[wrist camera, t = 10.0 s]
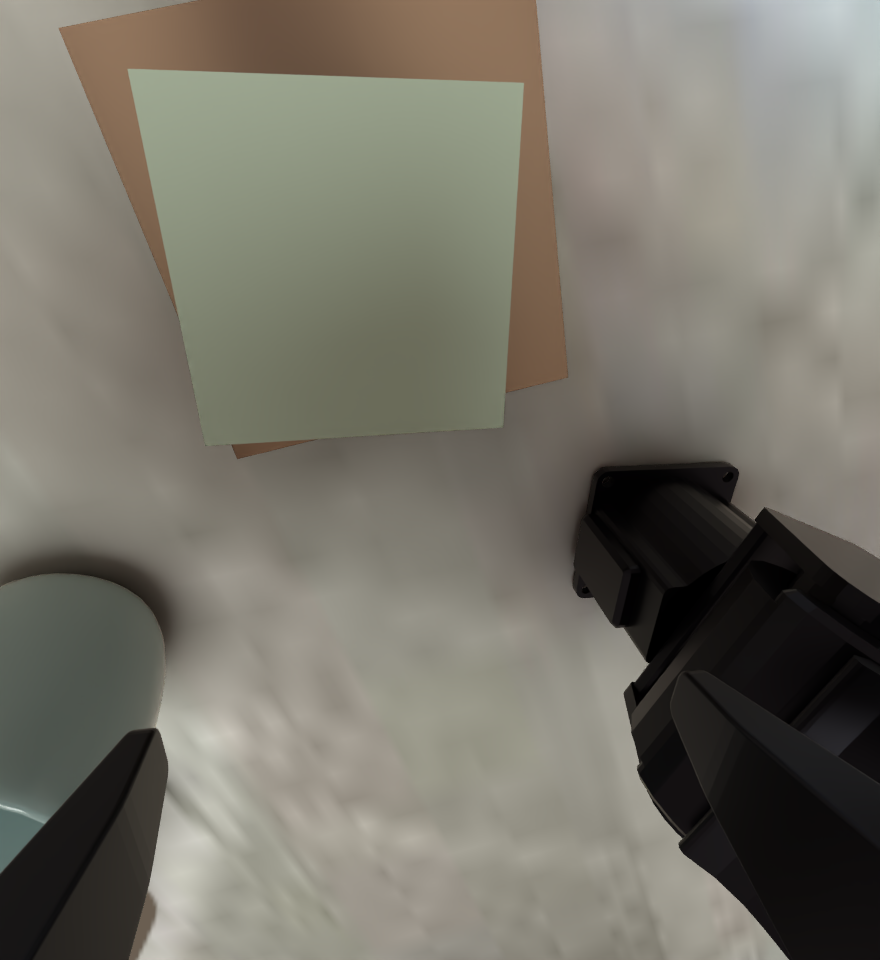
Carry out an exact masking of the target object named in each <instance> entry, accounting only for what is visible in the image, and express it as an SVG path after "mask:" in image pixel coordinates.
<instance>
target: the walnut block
mask: <svg viewBox="0 0 880 960" xmlns="http://www.w3.org/2000/svg"><path fill="white" fill-rule="evenodd" d="M59 30H60V33H61V35H62V38H63V40H64V42H65V45H66V47H67V50H68V52H69V54H70V57H71V59H72V62H73V64H74V66H75V69H76V71H77V74H78V76H79V79H80V81H81V83H82V86H83V88H84V91H85V93H86V95H87V98H88V100H89V103H90V105H91V107H92V110H93V112H94V115H95V117H96V120H97V122H98V124H99V127H100V129H101V132H102V134H103V136H104V139H105V141H106V144H107V146H108V148H109V151H110V153H111V156H112V158H113V160H114V163H115V165H116V168H117V170H118V173H119V175H120V177H121V180H122V182H123V185H124V187H125V189H126V192H127V194H128V197H129V199H130V201H131V204H132V206H133V209H134V211H135V214H136V216H137V218H138V221H139V223H140V226H141V228H142V230H143V233H144V235H145V238H146V240H147V242H148V245H149V247H150V250H151V252H152V255H153V257H154V259H155V262H156V264H157V267H158V269H159V271H160V274H161V276H162V279H163V281H164V283H165V286H166V288H167V291H168V293H169V296H170V298H171V300H172V303H173V305H174V308H175V310H176V312H177V307H176V302H175V297H174V293H173V288H172V283H171V278H170V273H169V268H168V263H167V259H166V254H165V249H164V244H163V239H162V234H161V229H160V225H159V220H158V215H157V210H156V205H155V200H154V195H153V191H152V186H151V181H150V176H149V171H148V166H147V161H146V157H145V152H144V147H143V142H142V137H141V132H140V127H139V123H138V118H137V113H136V108H135V103H134V98H133V93H132V89H131V84H130V79H129V74H128V69H150V70H178V71H206V72H234V73H263V74H291V75H319V76H347V77H375V78H403V79H431V80H459V81H488V82H516V83H524V91H523V108H522V124H521V141H520V157H519V174H518V191H517V207H516V224H515V240H514V257H513V273H512V290H511V306H510V323H509V340H508V356H507V373H506V389H505V393H507V392H511V391H515V390H519V389H523V388H527V387H531V386H535V385H539V384H543V383H547V382H551V381H555V380H559V379H563V378H568V370H567V359H566V347H565V335H564V323H563V312H562V300H561V288H560V276H559V265H558V253H557V241H556V229H555V218H554V206H553V194H552V182H551V171H550V159H549V147H548V135H547V124H546V112H545V100H544V88H543V77H542V65H541V53H540V41H539V30H538V18H537V6H536V0H198V1H193V2H188V3H182V4H177V5H172V6H167V7H162V8H157V9H152V10H147V11H142V12H137V13H132V14H127V15H122V16H117V17H112V18H107V19H102V20H97V21H92V22H87V23H82V24H77V25H72V26H67V27H62V28H59ZM177 315H178V312H177ZM312 440H317V439H312ZM312 440H296V441H280V442H264V443H248V444H231V445H232V447H233V450H234V452H235V455H236V457H237V459H240V458H244V457H248V456H252V455H256V454H260V453H264V452H268V451H272V450H276V449H280V448H284V447H288V446H292V445H296V444H300V443H304V442H308V441H312Z"/></svg>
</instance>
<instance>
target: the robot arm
mask: <svg viewBox="0 0 880 960" xmlns="http://www.w3.org/2000/svg"><path fill="white" fill-rule="evenodd" d="M727 472H728V473H727ZM725 473H727V475H726V476H725V477H724V478H723V476H724V474H725ZM738 476H739V472H738V469H737V468H735V467H734V466H732V465H731V464H730V463H701V464H674V465H647V466H620V467H604V468H601V469H599V470H598V471H597V472H596V473H595V474H594V476H593V480H592V485H591V491H590V496H589V501H588V507H587V512H586V515H585V516H584V517H583V518H582V520H581V526H580V531H579V537H578V542H577V548H576V553H575V559H574V567H575V569H576V571H575V577H574V582H573V589H574V590H575V592H576V593H577V595H578V596H579V597H581V598H592V597H594V598H595V600H596V601H597V603H598V604H599V606H600V608H601V609H602V611H603V612H604V614H605V615H606V617H607V618H608V620H609V622H610V623H611V624H612V625H613V626H614V627H615V628H622V627H624V629H625V630H626V632H627V633H628V635H629V636H630V638H631V639H632V641H633V642H634V644H635V645H636V647H637V648H638V650H639V651H640V653H641V654H642V656H643V657H644V659H645V660H646V662H648V663H649V665H648V666H647V667H646V669H645V670H644V671H643V672H642V674H641V675H640V676H639V678H638V679H637V680H636V682H631V684H630V685H629V686H628V687H627V689H626V690H625V691H624V698H625V702H626V707H627V711H628V716H629V720H630V724H631V733H632V736H633V739H634V742H635V746H636V750H637V755H638V759H639V763H640V764H639V765H638V766H637V771H638V774H639V777H640V780H641V781H642V783H643V785H644V786H645V788H646V789H647V792H648V794H649V795H650V797H651V799H652V801H653V804H654V805H655V806H656V808H657V809H658V811H659V812H660V813H661V815H662V816H663V818H664V819H665V820H666V821H667V822H668V824H669V825H670V826H671V827H672V828H673V829H674V830H675V832H676V833H677V834H678V835H680V836H681V837H682V838H683V839H682V840H681V841H680V842H679V848H680V850H681V851H682V853H683V854H684V855H685V856H687V857H688V858H689V859H691V860H692V861H693V862H695V863H696V864H697V865H699V866H700V867H701V868H703V869H704V870H705V871H707V872H708V873H709V874H711V875H712V876H714V877H715V878H716V879H717V880H718V881H719V882H720V883H721V884H722V885H723V886H724V887H725V888H726V889H727V890H728V891H730V892H731V893H732V894H733V895H734V896H735V897H736V898H737V899H738V900H739V901H740V902H741V903H742V904H743V905H744V906H745V907H746V908H747V909H748V911H749V912H750V913H751V914H752V915H753V916H754V918H755V919H756V920H757V921H758V922H759V923H760V924H761V926H762V927H763V928H764V929H765V930H766V932H767V933H768V934H769V935H770V937H771V938H772V939H773V940H774V942H775V943H776V944H777V945H778V946H779V948H780V949H781V950H782V951H783V953H784V954H785V955H786V956H787V958H788V959H789V960H880V559H878V558H877V557H875V556H873V555H872V554H870V553H868V552H867V551H865V550H864V549H862V548H860V547H859V546H857V545H855V544H853V543H851V542H848V541H846V540H843V539H841V538H839V537H836V536H834V535H831V534H829V533H827V532H824V531H822V530H819V529H817V528H815V527H812V526H810V525H807V524H805V523H803V522H800V521H798V520H795V519H793V518H791V517H788V516H786V515H783V514H781V513H779V512H776V511H774V510H772V509H769V508H767V507H764V508H763V510H762V511H761V512H760V514H759V515H758V516H757V518H756V519H755V521H756V522H757V523H755V522H754V521H753V520H752V519H750V518H749V517H748V516H747V515H745V514H744V513H743V512H741V511H740V510H739V509H738V508H736V507H735V506H734V505H732V504H731V503H730V502H731V499H732V495H733V492H734V489H735V486H736V483H737V480H738ZM606 477H610V478H609V480H608V481H607V482H606V483H602V482H603V480H604V479H605V478H606ZM585 585H586V586H587V587H585V588H582V587H584V586H585ZM167 778H168V761H167V757H166V753H165V749H164V745H163V742H162V738H161V734H160V732H159V730H158V729H156V728H146V729H136V730H131V731H129V732H128V733H127V734H125V735H124V736H123V738H122V739H121V740H120V741H119V742H118V743H117V744H116V745H115V746H114V748H113V749H112V750H111V751H110V752H109V753H108V754H107V755H106V756H105V758H104V759H103V760H102V761H101V762H100V763H99V764H98V765H97V766H96V768H95V769H94V770H93V771H92V772H91V773H90V774H89V775H88V776H87V777H86V779H85V780H84V781H83V782H82V783H81V784H80V785H79V786H78V787H77V789H76V790H75V791H74V792H73V793H72V794H71V795H70V796H69V797H68V799H67V800H66V801H65V802H64V803H63V804H62V805H61V806H60V807H59V809H58V810H57V811H56V812H55V813H54V814H53V815H52V816H51V817H50V819H49V820H48V821H47V822H46V823H45V824H44V825H43V826H42V827H41V829H40V830H39V831H38V832H37V833H36V834H35V835H34V836H33V837H32V838H31V840H30V841H29V842H28V843H27V844H26V845H25V846H24V847H23V848H22V850H21V851H20V852H19V853H18V854H17V855H16V856H15V857H14V858H13V860H12V861H11V862H10V863H9V864H8V865H7V866H6V867H5V868H4V870H3V871H2V872H1V873H0V960H129V956H130V952H131V949H132V945H133V942H134V938H135V934H136V931H137V927H138V924H139V920H140V917H141V913H142V909H143V906H144V902H145V898H146V894H147V890H148V886H149V882H150V877H151V872H152V866H153V861H154V855H155V849H156V843H157V837H158V831H159V825H160V819H161V813H162V808H163V802H164V796H165V790H166V784H167Z"/></svg>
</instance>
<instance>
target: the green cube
mask: <svg viewBox="0 0 880 960" xmlns="http://www.w3.org/2000/svg"><path fill="white" fill-rule="evenodd" d="M128 74H129V79H130V84H131V89H132V93H133V98H134V103H135V108H136V113H137V118H138V123H139V127H140V132H141V137H142V142H143V147H144V152H145V157H146V161H147V166H148V171H149V176H150V181H151V186H152V191H153V195H154V200H155V205H156V210H157V215H158V220H159V225H160V229H161V234H162V239H163V244H164V249H165V254H166V259H167V263H168V268H169V273H170V278H171V283H172V288H173V293H174V297H175V302H176V307H177V312H178V317H179V322H180V327H181V331H182V336H183V341H184V346H185V351H186V356H187V361H188V365H189V370H190V375H191V380H192V385H193V390H194V395H195V399H196V404H197V409H198V414H199V419H200V424H201V429H202V433H203V438H204V443H205V446H215V445H231V444H248V443H264V442H280V441H296V440H312V439H328V438H344V437H360V436H376V435H392V434H408V433H424V432H440V431H456V430H472V429H488V428H503V422H504V406H505V389H506V373H507V356H508V340H509V323H510V306H511V290H512V273H513V257H514V240H515V224H516V207H517V191H518V174H519V157H520V141H521V124H522V108H523V91H524V83H516V82H488V81H459V80H431V79H403V78H375V77H347V76H319V75H291V74H263V73H234V72H206V71H178V70H150V69H128Z"/></svg>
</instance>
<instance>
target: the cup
mask: <svg viewBox="0 0 880 960" xmlns="http://www.w3.org/2000/svg"><path fill="white" fill-rule="evenodd" d="M165 676H166V651H165V643H164V638H163V634H162V631H161V627H160V625H159V623H158V621H157V619H156V617H155V615H154V614H153V612H152V610H151V608H150V607H149V606H148V605H147V604H146V603H145V602H144V601H143V600H142V599H141V598H140V597H139V596H137V595H136V594H134V593H133V592H131V591H130V590H128V589H127V588H125V587H123V586H120V585H118V584H116V583H114V582H111V581H108V580H105V579H101V578H98V577H93V576H87V575H80V574H68V573H52V574H41V575H35V576H31V577H27V578H23V579H19V580H15V581H11V582H8V583H6V584H4V585H2V586H0V873H1V872H2V871H3V870H4V868H5V867H6V866H7V865H8V864H9V863H10V862H11V861H12V860H13V858H14V857H15V856H16V855H17V854H18V853H19V852H20V851H21V850H22V848H23V847H24V846H25V845H26V844H27V843H28V842H29V841H30V840H31V838H32V837H33V836H34V835H35V834H36V833H37V832H38V831H39V830H40V829H41V827H42V826H43V825H44V824H45V823H46V822H47V821H48V820H49V819H50V817H51V816H52V815H53V814H54V813H55V812H56V811H57V810H58V809H59V807H60V806H61V805H62V804H63V803H64V802H65V801H66V800H67V799H68V797H69V796H70V795H71V794H72V793H73V792H74V791H75V790H76V789H77V787H78V786H79V785H80V784H81V783H82V782H83V781H84V780H85V779H86V777H87V776H88V775H89V774H90V773H91V772H92V771H93V770H94V769H95V768H96V766H97V765H98V764H99V763H100V762H101V761H102V760H103V759H104V758H105V756H106V755H107V754H108V753H109V752H110V751H111V750H112V749H113V748H114V746H115V745H116V744H117V743H118V742H119V741H120V740H121V739H122V738H123V736H124V735H125V734H127V733H128V732H129V731H131V730H136V729H146V728H156V724H157V720H158V715H159V711H160V706H161V701H162V696H163V690H164V684H165Z"/></svg>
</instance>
